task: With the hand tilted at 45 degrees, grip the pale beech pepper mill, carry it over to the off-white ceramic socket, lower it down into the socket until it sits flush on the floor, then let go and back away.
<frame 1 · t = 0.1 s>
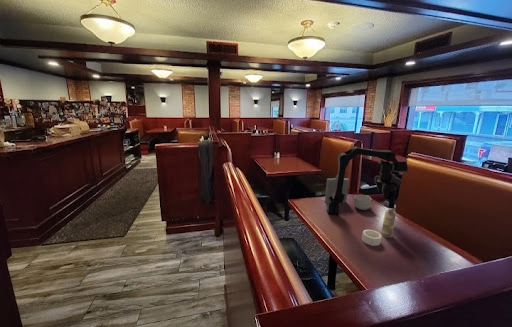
hand: (382, 195, 139), 15 cm above the table, tool pointing down, fingers open, 9 cm apart
socket: (370, 240, 117), on the table
pepper mill: (386, 235, 122), on the table
teacup: (362, 207, 155), on the table
hip flask: (335, 202, 164), on the table
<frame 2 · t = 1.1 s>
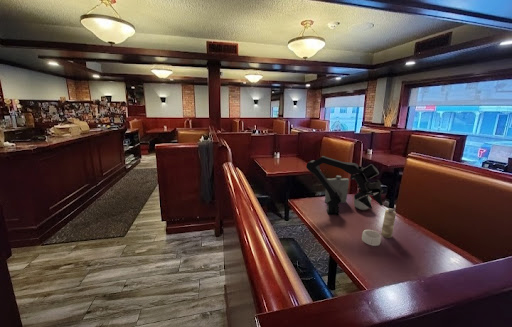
hand: (376, 207, 126), 13 cm above the table, tool tilted 45°, fingers open, 9 cm apart
nothing on the table moved.
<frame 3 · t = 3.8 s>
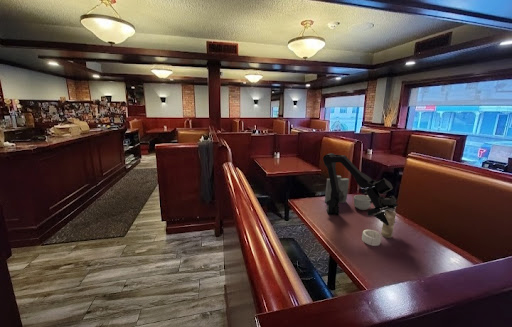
hand: (391, 224, 119), 8 cm above the table, tool tilted 45°, fingers closed on pepper mill, 5 cm apart
pepper mill: (386, 235, 122), on the table, touching gripper
everything else where it was.
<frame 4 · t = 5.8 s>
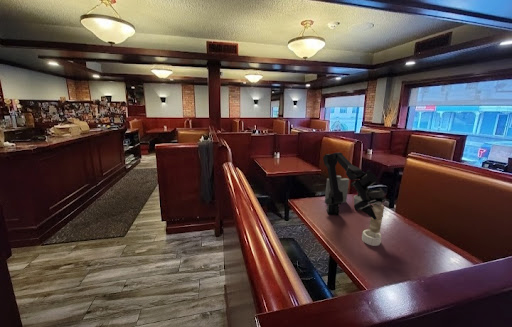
hand: (379, 218, 113), 13 cm above the table, tool tilted 45°, fingers closed on pepper mill, 5 cm apart
pepper mill: (374, 230, 116), point 6 cm above the table, touching gripper
everything else where it was.
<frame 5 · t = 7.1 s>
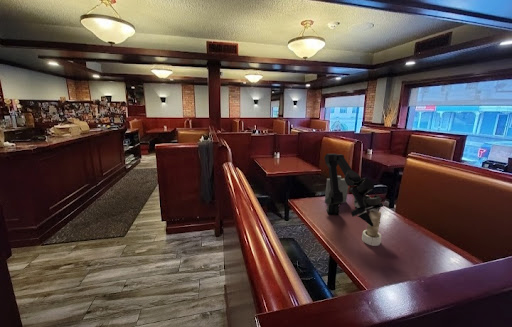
hand: (376, 224, 113), 10 cm above the table, tool tilted 45°, fingers closed on pepper mill, 5 cm apart
pepper mill: (371, 236, 117), point 2 cm above the table, touching gripper
everything else where it was.
when the fingers open (8 cm above the table, at t = 7.9 s): pepper mill stays where it is, resting on socket.
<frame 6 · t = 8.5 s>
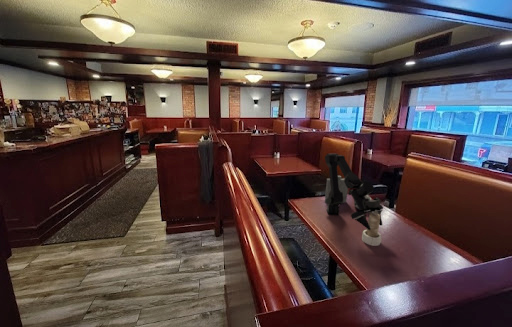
hand: (375, 227, 114), 9 cm above the table, tool tilted 45°, fingers open, 9 cm apart
pepper mill: (371, 239, 117), point 1 cm above the table, touching socket
everything else where it was.
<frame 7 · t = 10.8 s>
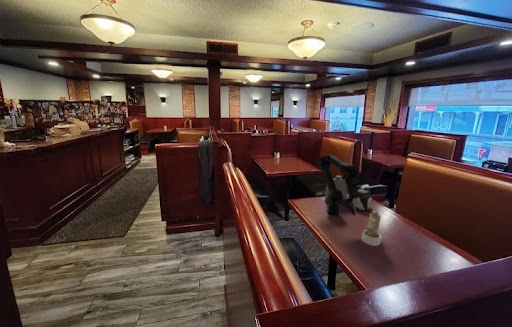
hand: (360, 212, 127), 10 cm above the table, tool tilted 25°, fingers open, 9 cm apart
nothing on the table moved.
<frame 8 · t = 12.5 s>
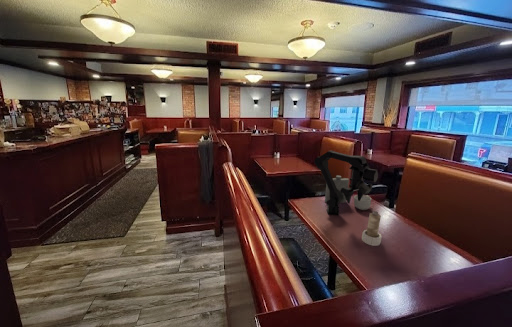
hand: (353, 202, 135), 12 cm above the table, tool pointing down, fingers open, 9 cm apart
nothing on the table moved.
at the end: pepper mill 0.1 cm off-centre on the socket, point 0.8 cm above the socket's base; pepper mill tilted 0°; the gripper is holding nothing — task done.
